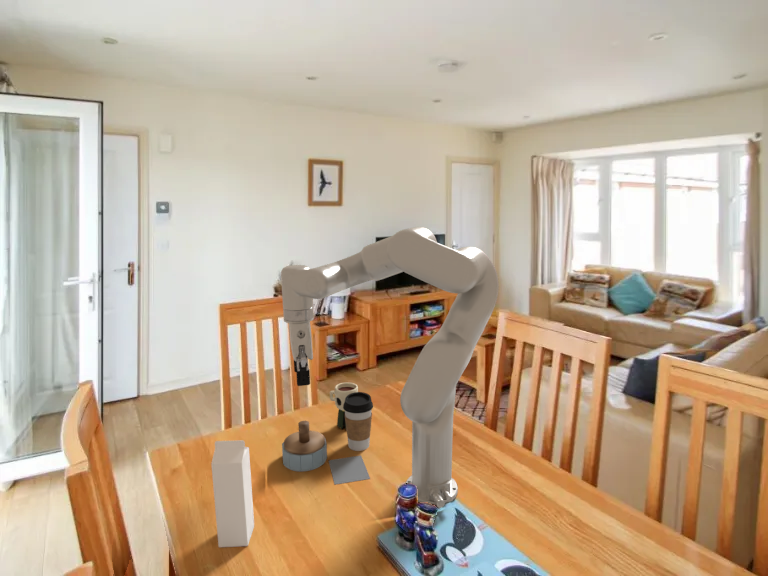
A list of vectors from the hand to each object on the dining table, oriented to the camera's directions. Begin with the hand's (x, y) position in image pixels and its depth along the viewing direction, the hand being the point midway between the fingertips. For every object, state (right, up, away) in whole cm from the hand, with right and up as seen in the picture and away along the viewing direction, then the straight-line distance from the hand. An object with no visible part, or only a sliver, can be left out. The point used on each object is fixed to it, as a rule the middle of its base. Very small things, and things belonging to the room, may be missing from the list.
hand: (301, 377), depth 121 cm
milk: (-10, -29, -23) cm, 38 cm away
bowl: (0, -23, +5) cm, 24 cm away
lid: (0, -18, +4) cm, 19 cm away
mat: (+12, -24, 0) cm, 27 cm away
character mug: (+10, -20, +24) cm, 32 cm away
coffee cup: (+14, -22, +11) cm, 29 cm away
